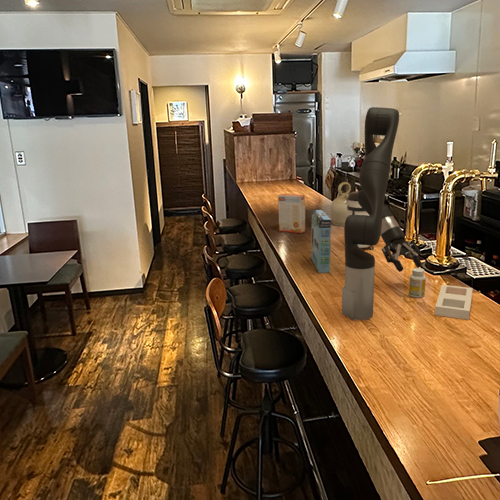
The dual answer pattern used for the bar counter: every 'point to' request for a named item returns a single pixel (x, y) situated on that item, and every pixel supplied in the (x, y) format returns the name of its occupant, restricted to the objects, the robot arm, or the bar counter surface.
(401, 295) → the bar counter surface
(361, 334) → the bar counter surface
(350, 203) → the coffee press
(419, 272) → the supplement bottle
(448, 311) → the bottle caddy
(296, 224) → the cracker box
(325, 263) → the gum box
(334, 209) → the jug
